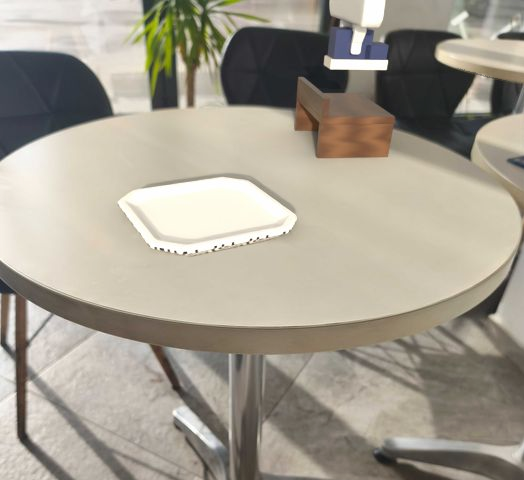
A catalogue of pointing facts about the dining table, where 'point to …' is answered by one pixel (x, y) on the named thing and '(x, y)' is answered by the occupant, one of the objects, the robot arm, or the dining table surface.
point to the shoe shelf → (343, 122)
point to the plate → (205, 215)
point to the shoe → (368, 58)
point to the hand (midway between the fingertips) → (349, 51)
